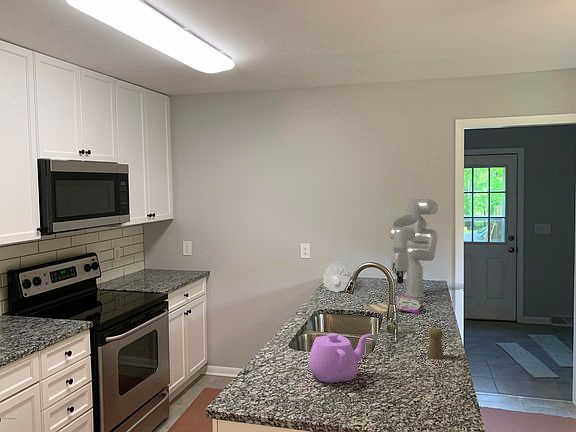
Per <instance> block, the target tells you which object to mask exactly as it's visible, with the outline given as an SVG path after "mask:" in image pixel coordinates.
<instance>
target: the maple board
mask: <svg viewBox="0 0 576 432" xmlns="http://www.w3.org/2000/svg"><path fill="white" fill-rule="evenodd" d="M389 304H390V303H386V302H378V303H375V304H369V305H364V306H363V309H365V310H367V309H368V310H367V311H370V310H371V312H374V313H378V314H381V315H387V309H388V305H389ZM395 306H396V308H397V312H401V311H402V310H398V307H397V305H395Z"/></svg>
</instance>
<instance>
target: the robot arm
mask: <svg viewBox="0 0 576 432" xmlns="http://www.w3.org/2000/svg"><path fill="white" fill-rule="evenodd" d="M438 210H439V205H438V203H437V201H435V200H433V199H429V198H412V199H411V200H409V202H408V204H407V206H406V209H405V211H404V214H402V215H400V216H399V217H397V218H396V219H394V220H393V222H392V224H391V226H390V229H389V238H390V239H391V240H392V241H393V250H392V251H393V253H392V254H391V259H390V260H391V261H390V270H391V271H392V274H395V276H396V283H397V284H400V285H401V284H404V277H405V274H406V291H405V292H403V296H408V297H413V298H417V299H418V298H424V297H425V296H426V293H424V292H427V291H428V288H427V287H423V286H424V284H423V283H424V281H423V280H424V279H423V278H424V276H423V275H424V273H423V272H424V271H423V270H424V269H423V264H422V263H421V262H420V261H427V262H428V261H429V262H430V261H431V262H432V261H433V260H434V259H435V256H436V250H437V244H438V233H437V230H435V229H433V228H427V226H428V223H427V220H426V218H424V216H422V215H436V214H437V212H438ZM411 225H412V227H409V226H411ZM407 226H408V227H407ZM409 241H410V242H411V243H410V244H408V242H409Z"/></svg>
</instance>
